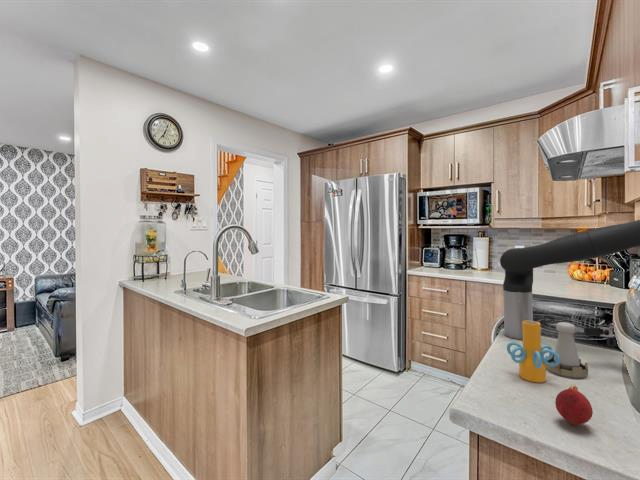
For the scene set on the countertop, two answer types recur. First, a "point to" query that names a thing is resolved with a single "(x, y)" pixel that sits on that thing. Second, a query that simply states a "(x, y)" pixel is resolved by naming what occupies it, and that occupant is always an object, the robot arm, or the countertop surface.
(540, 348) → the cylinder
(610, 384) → the countertop surface
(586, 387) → the countertop surface
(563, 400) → the red oval fruit
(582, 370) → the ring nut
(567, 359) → the salt shaker
